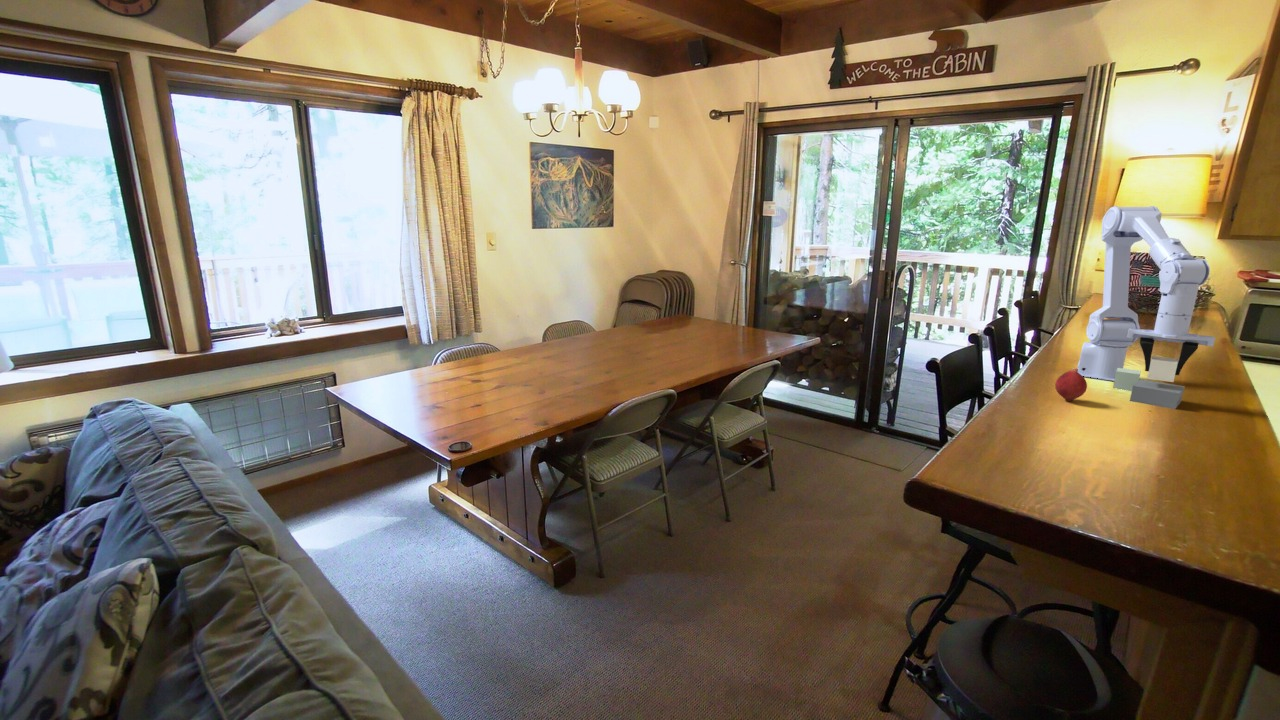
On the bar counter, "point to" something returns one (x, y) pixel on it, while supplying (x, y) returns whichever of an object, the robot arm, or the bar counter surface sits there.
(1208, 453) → the bar counter surface
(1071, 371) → the onion
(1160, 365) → the cream block
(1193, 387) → the bar counter surface
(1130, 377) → the sage block
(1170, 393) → the base block
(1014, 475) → the bar counter surface
